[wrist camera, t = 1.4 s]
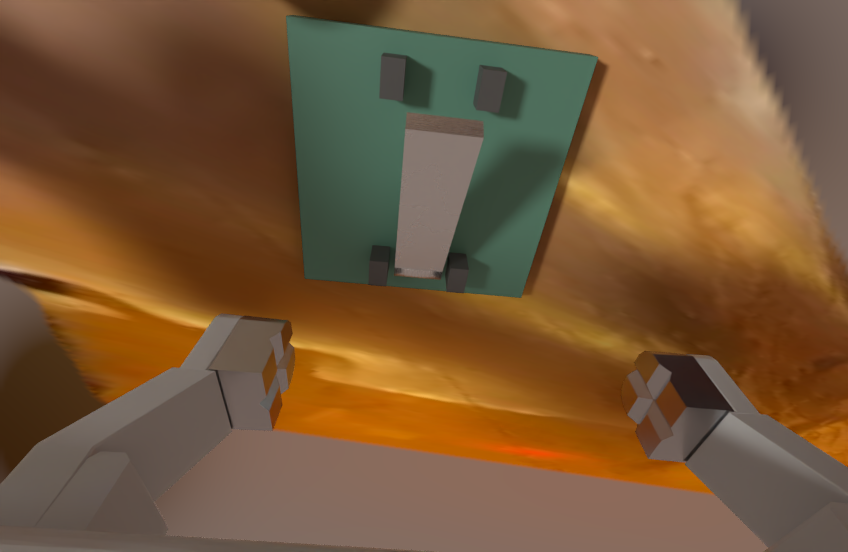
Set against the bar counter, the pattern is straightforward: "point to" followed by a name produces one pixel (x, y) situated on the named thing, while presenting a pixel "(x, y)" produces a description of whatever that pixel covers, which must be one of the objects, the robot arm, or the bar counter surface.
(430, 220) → the steel strap
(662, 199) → the bar counter surface
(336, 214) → the board
